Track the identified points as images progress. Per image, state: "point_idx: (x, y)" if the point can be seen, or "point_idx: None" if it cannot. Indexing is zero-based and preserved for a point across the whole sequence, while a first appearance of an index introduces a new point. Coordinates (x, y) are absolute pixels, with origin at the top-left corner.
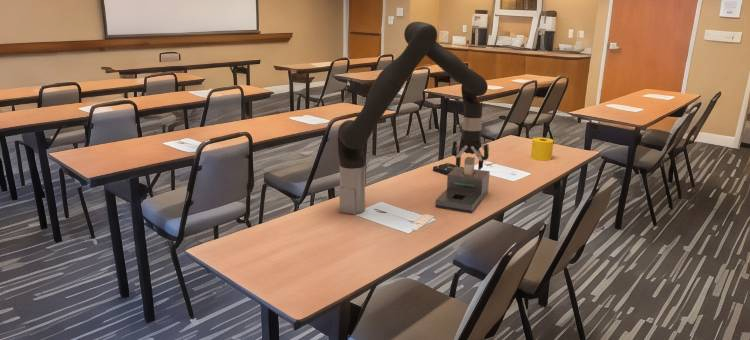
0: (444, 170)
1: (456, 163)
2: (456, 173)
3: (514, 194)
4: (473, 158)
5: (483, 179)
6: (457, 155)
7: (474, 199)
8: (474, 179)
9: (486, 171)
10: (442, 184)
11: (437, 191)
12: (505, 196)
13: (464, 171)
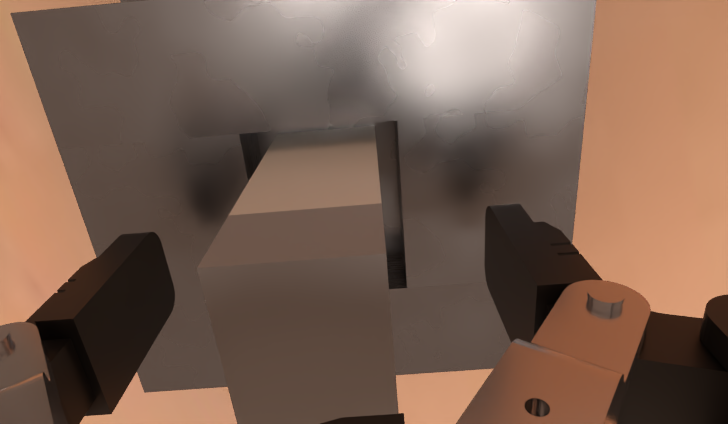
0: None
1: (554, 236)
2: (479, 100)
3: (34, 311)
4: (239, 395)
5: (48, 83)
6: (618, 318)
7: None
8: (146, 2)
9: (170, 371)
10: (609, 255)
11: (614, 60)
12: (60, 239)
13: (369, 157)
